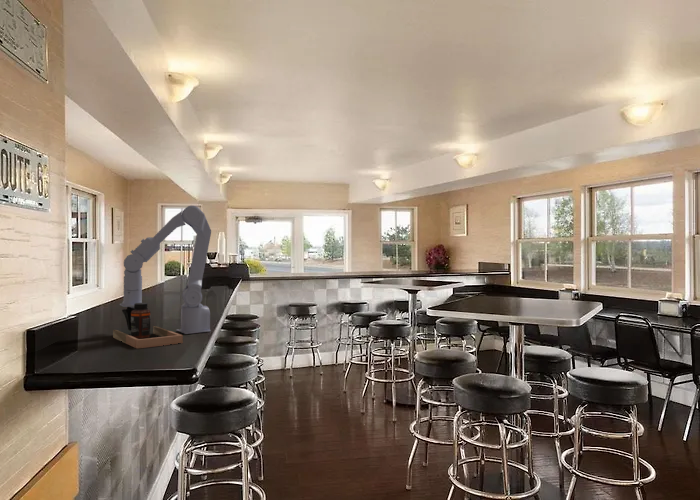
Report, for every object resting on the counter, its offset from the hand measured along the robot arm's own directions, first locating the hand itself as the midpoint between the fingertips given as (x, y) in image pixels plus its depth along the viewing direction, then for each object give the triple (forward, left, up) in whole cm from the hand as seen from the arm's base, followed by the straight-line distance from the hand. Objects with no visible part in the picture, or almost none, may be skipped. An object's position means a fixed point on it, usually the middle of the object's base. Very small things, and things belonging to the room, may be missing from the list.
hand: (132, 330), depth 174 cm
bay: (0, +13, -1) cm, 13 cm away
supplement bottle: (0, +8, -2) cm, 8 cm away
